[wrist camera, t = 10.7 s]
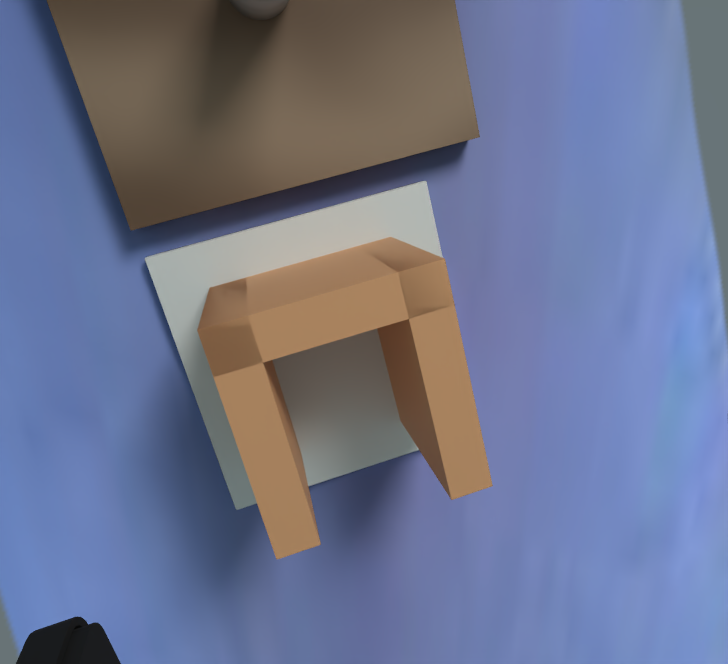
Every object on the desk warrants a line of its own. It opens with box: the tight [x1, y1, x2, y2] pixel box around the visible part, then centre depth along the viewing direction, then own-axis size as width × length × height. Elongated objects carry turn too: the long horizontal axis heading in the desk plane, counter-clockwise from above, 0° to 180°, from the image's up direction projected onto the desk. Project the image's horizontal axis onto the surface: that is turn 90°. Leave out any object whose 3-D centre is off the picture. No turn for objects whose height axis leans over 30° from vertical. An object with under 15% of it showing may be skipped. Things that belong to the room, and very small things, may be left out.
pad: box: [145, 181, 443, 510], centre depth 22 cm, size 10×10×1 cm
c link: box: [197, 237, 493, 559], centre depth 19 cm, size 7×7×6 cm
